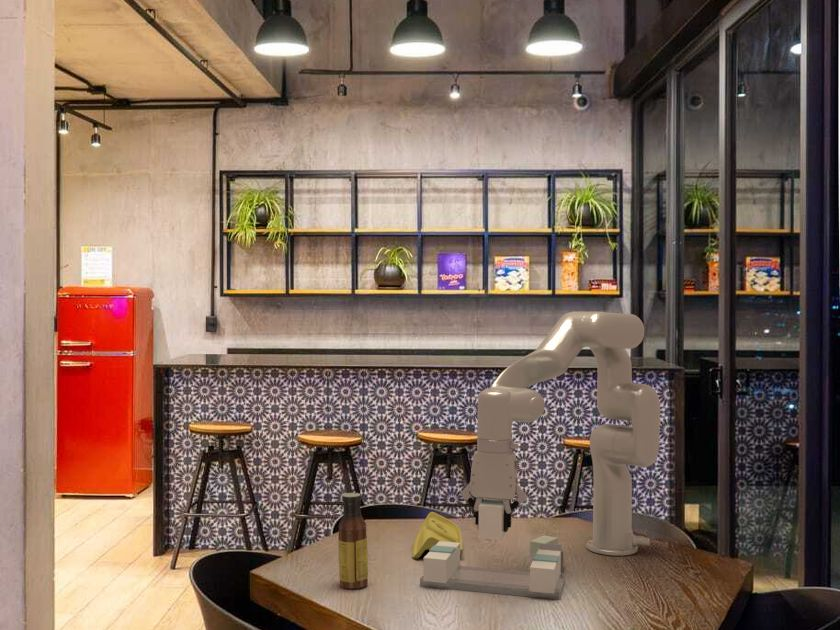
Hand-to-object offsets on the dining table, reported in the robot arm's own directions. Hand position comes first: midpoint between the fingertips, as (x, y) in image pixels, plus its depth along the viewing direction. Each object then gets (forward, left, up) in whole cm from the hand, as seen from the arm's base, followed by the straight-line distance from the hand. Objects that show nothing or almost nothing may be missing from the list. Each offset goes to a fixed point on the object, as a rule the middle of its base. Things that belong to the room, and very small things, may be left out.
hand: (493, 528), depth 183 cm
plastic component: (+18, -23, -13) cm, 31 cm away
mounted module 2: (-12, 0, -11) cm, 16 cm away
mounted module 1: (+11, 0, -11) cm, 16 cm away
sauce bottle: (+29, +10, -12) cm, 33 cm away
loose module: (0, 0, -1) cm, 1 cm away
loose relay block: (-11, -15, -12) cm, 22 cm away
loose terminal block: (-8, -26, -12) cm, 30 cm away
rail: (0, 0, -12) cm, 12 cm away
